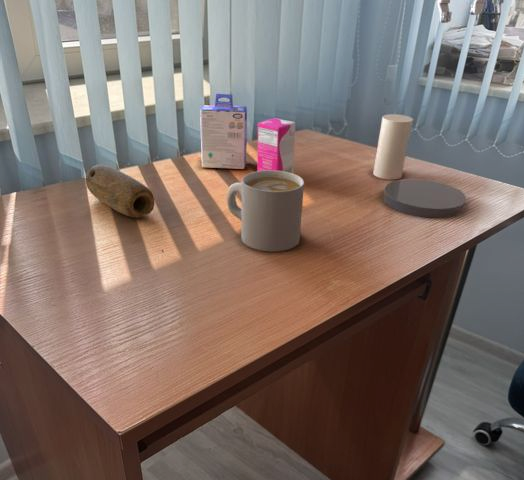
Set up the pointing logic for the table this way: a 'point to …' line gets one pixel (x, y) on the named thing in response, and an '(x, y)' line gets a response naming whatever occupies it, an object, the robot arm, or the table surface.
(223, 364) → the table surface
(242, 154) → the ink cartridge box
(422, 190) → the slate plate
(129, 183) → the stone weight
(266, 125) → the supplement box
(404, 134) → the cream canister
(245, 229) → the coffee mug
